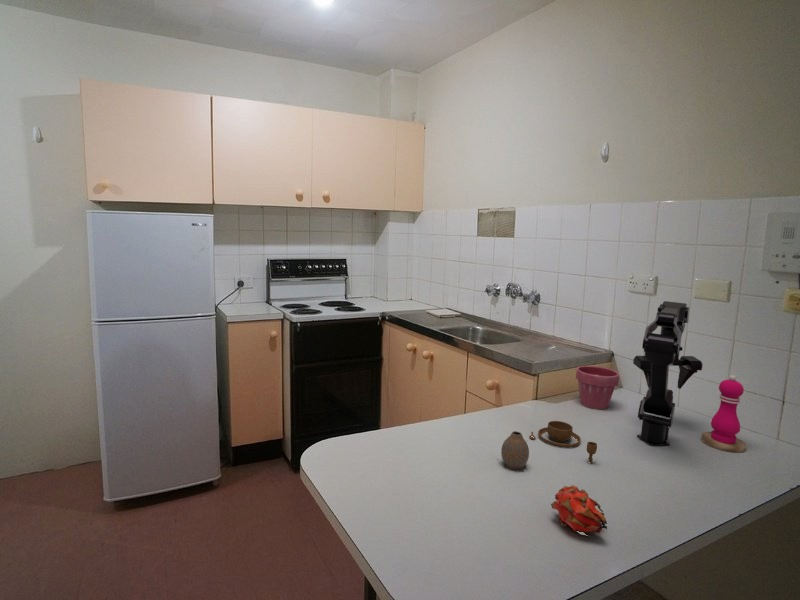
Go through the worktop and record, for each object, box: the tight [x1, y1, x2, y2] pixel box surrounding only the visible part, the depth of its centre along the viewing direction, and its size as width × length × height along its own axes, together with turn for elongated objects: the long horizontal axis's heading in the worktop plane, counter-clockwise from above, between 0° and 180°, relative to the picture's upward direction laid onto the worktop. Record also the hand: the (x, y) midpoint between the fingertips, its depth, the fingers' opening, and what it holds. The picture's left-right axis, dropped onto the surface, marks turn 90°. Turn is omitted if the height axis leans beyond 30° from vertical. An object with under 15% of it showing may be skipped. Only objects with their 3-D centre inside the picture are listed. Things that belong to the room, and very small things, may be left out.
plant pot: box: [575, 365, 620, 410], centre depth 169 cm, size 14×14×13 cm
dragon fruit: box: [550, 485, 608, 536], centre depth 95 cm, size 8×8×12 cm
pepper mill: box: [710, 374, 745, 444], centre depth 139 cm, size 7×7×20 cm
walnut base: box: [700, 431, 747, 454], centre depth 141 cm, size 11×11×2 cm
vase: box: [500, 430, 530, 470], centre depth 120 cm, size 7×7×9 cm
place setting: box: [528, 420, 598, 463], centre depth 134 cm, size 18×20×6 cm
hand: (664, 388), depth 150 cm, fingers open, 9 cm apart
